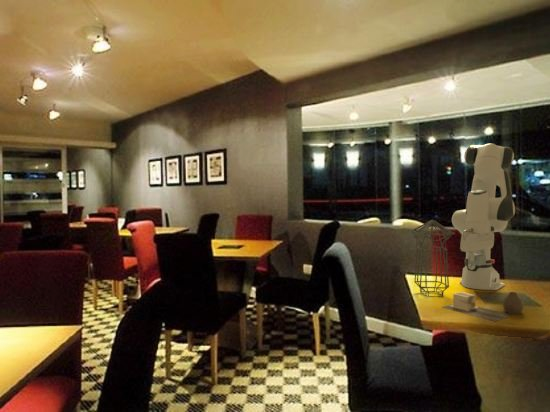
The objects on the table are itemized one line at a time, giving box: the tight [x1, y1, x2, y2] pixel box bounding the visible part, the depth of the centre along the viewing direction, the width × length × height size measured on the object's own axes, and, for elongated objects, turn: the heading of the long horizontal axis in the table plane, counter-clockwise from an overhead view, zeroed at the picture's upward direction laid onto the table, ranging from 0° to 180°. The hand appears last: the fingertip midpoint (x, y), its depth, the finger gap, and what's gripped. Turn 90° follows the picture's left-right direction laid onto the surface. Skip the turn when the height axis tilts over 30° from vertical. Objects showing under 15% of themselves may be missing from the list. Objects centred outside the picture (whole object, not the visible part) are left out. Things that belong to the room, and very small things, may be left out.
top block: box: [468, 254, 486, 266], centre depth 175 cm, size 5×5×4 cm
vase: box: [502, 291, 524, 315], centre depth 162 cm, size 7×7×9 cm
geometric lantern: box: [411, 219, 456, 298], centre depth 192 cm, size 16×16×35 cm
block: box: [452, 291, 476, 309], centre depth 169 cm, size 6×6×5 cm
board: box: [441, 303, 514, 323], centre depth 164 cm, size 13×22×1 cm, turn 34°
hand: (476, 260), depth 175 cm, fingers closed on top block, 5 cm apart
